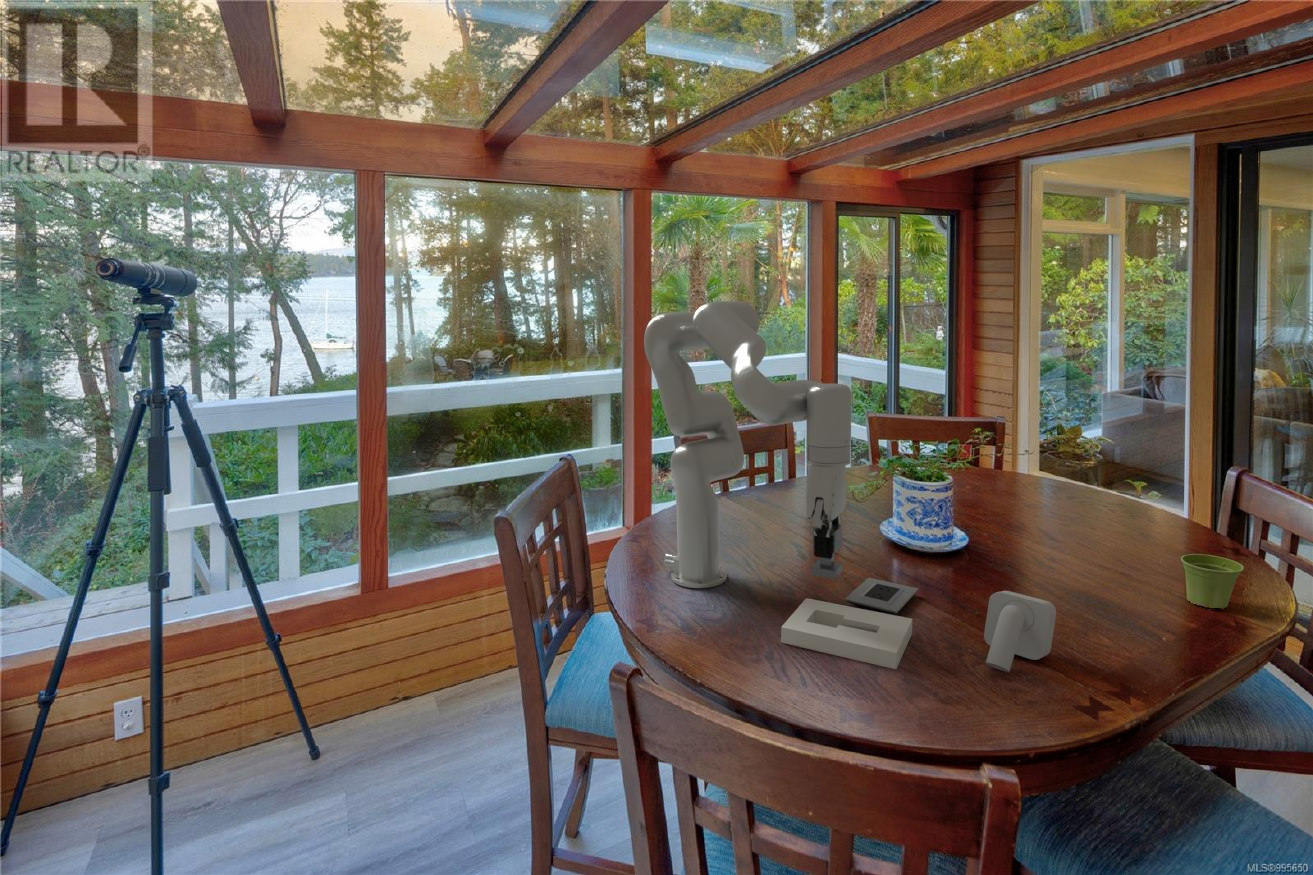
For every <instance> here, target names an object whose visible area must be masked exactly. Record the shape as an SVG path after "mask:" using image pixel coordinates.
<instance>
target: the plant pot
mask: <svg viewBox="0 0 1313 875" xmlns="http://www.w3.org/2000/svg"><path fill="white" fill-rule="evenodd" d="M1180 561H1181V562H1182V564H1183V569H1184V575H1185V587H1186V588H1185V590H1186V601H1187V600H1188V601H1187V602H1189V601H1190V603H1191V604H1192V603H1193V604H1197V605H1201V606H1204V607H1209V608H1225V607H1227V608H1228V606H1229V602H1230V600H1231V596H1232V593H1233V590H1234V587H1235V584H1236V582H1237V579H1238V578H1239V576H1240V574H1241V573H1242V572H1244V570H1245V566H1244V565H1243V564H1242V563H1240V562H1238V561H1235V560H1232V559H1229V558H1226V557H1222V556H1217V555H1211V554H1203V553H1189V554H1183V555H1182V556H1181V557H1180ZM1193 604H1192V605H1193Z"/></svg>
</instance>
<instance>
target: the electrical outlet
mask: <svg viewBox="0 0 1313 875" xmlns="http://www.w3.org/2000/svg"><path fill="white" fill-rule="evenodd" d="M918 591H919V588H918V587H913V586H908V585H904V584H901V583H895V582H891V581H885V580H881V579H877V578H873V577H868V578H867V579H865V580H864V581H863V582H862V583H861V584H860V585H858V586H857V587H856V588H855V589H853V591H852V592H850V593H849V594H848V595H847V596H846V597H845V598H844V602H846V603H849V604H852V605H855V606H860V607H864V608H869V609H871V610H872V609H873V610H876V611H880V612H882V613H886V614H890V615H897V614H898V613H899V611H901V610H902V609H903V607H905V605H906V604H907V603H908V602H909V601H910V600H911V599H912V598H913V597H914V596H915V594H917V592H918Z"/></svg>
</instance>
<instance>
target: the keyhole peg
mask: <svg viewBox="0 0 1313 875" xmlns="http://www.w3.org/2000/svg"><path fill="white" fill-rule="evenodd" d="M823 525H825V526H826V528H827V524H826V523H823ZM842 530H843V529H842V524H841V525H834V524H832V527H831V536H832V537H833V557H832V558H831V559H828V558H821V557H819V559H817V561H816V562H814V564H813V565H812V566H811V567H810V568H811V576H814V577H820V578H826V579H833V580H836V579H837V578H838V577H839V576H840V575H841V573H842V572H843V562H839V561H835V554H836V553H837V552H838V551H839V550H840V549H841V548H842V535H843V534H842ZM812 551H814V528H812Z"/></svg>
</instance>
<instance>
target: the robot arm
mask: <svg viewBox="0 0 1313 875" xmlns="http://www.w3.org/2000/svg"><path fill="white" fill-rule="evenodd" d="M759 328H760V317H759V315H758V312H757V310H756V309H755V308H754V307H753V306H752V305H751V304H750V303H748V302H745V301H740V300H728V301H727V300H725V301H724V300H723V301H722V300H720V301H718V300H717V301H716V300H715V301H710V302H706V303H705V304H702V305H701V306H699V307H698V308H697V309H696V310H695V311H672V312H671V311H670V312H664V313H660V314H659V315H656V316H654V317H653V318H652V319H651V320H650V321H649V322H648V323H647V326H646V328H645V331H644V335H643V336H644V337H643V338H644V339H643V345H644V353H645V356H646V359H647V361H648V364H649V366H650V368H651V370H652V373H653V376H654V378H655V380H656V384H657V389H658V392H659V393H658V394H659V398H660V401H661V406H662V409H663V412H664V416H665V419H666V424H667V426H668V429H669V430H670V432H671V433H672V435H674V436H677V437H692V436H697V435H702V434H706V436H707V438H703V439H698V440H693V441H688V442H685V443H683V444H680V445H679V446H677V447H676V448H675V449H674V451H673V452H672V453H671V457H670V469H671V470H670V471H671V475H672V480H673V485H674V492H675V504H676V505H675V506H676V508H675V513H676V538H677V539H676V545H677V547H676V548H677V555H675V554H671V553H665V555H664V558H663V559H664V561H663V564H664V566H668V567H672V568H673V570H672V572H671V577H670V578H671V581H672V582H673V583H675V585H678V586H680V587H684V588H690V589H708V588H713V587H717V586H720V585H722V584H723V583H724V582H725V581H727V577H728V576H727V575H728V574H727V571H726V570H725V568H723V567H721V561H720V560H721V554H720V553H721V551H720V548H721V547H720V502H719V499H718V496H717V494H716V492H715V491H714V489H713V487H712V485H711V483H712V482H713V483H714V482H716V481H718V480H719V481H720V480H723V479H728V478H731V477H734V476H736V475H738V474H739V473H740V472H741V471H742V469H743V467H744V464H745V453H744V452H745V450H744V446H743V443H742V440H741V435H740V432H739V426H738V424H737V419H736V416H735V413H734V409H733V407H732V404H731V402H730V401H729V399H728V397H727V396H725V395H724V394H723V393H721V392H720V391H717V390H705V391H704V390H703V391H700V389H699V387H698V385H697V381H696V376H695V373H694V371H693V370H692V367H691V365H689V363H688V362H687V360H685V358H683V356H681V354H680V353H681V352H683V351H685V352H686V351H701V350H702V351H703V350H711V351H712V352H714V353H715V355H716V356H718V358H719V359H721V361H722V362H724V364H725V366H727V367H728V368H729V369H730V370H731V371H730V380H731V385H732V388H733V393H734V394H735V397H736V398H737V399H738V401H739V402H740V403H741V405H743V407H744V408H746V410H747V411H748V412H749V413H750V414H751V415H752V416H754V417H755V418H756V419H757V420H759V422H761V423H763V424H765V425H768V426H780V425H785V424H791V423H797V422H803V421H806V463H807V464H808V469H807V476H806V487H805V489H806V490H805V493H806V494H805V506H804V516H805V518H806V519H807V520H811V519H812V518H813V520H812V526H811V527H812V529H814V550H813V556H814V557H816V558H820V557H821V558H828V559H831V558H832V557H833V537H832V536H831V527H832V524H834V525H842V523H841V514H842V513H843V511H844V510H845V508H846V505H847V467H846V466H848V465H850V464H851V458H852V457H851V455H852V454H851V452H852V451H851V450H852V448H851V447H852V446H851V444H852V443H851V442H852V400H853V397H852V390H851V388H850V387H849V386H848V385H846V384H843V383H833V382H832V383H830V382H829V383H823V382H818V381H815V380H810V379H798V380H788V381H780V382H779V381H778V382H772V381H771V380H769V379H768V377H766V376H765V375H764V374H763V373H762V372H761V371H760V370H759V369H758V368H757V367H758V366H759V365H760V363H761V362H762V361H763V359H764V358H765V355H766V353H767V343H766V341H765V340H764V338H763V337H762V336H760V335H759V334H758V331H759ZM823 523H826V524H827V528H826V526H825V525H823Z"/></svg>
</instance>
